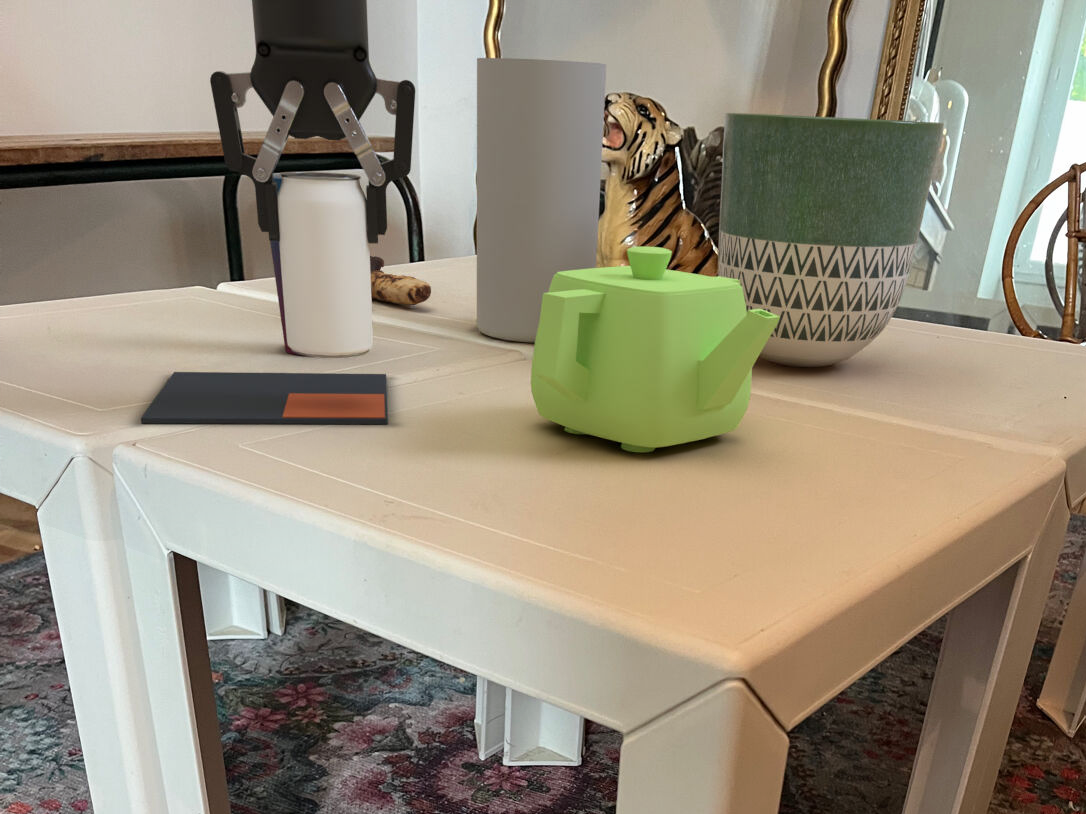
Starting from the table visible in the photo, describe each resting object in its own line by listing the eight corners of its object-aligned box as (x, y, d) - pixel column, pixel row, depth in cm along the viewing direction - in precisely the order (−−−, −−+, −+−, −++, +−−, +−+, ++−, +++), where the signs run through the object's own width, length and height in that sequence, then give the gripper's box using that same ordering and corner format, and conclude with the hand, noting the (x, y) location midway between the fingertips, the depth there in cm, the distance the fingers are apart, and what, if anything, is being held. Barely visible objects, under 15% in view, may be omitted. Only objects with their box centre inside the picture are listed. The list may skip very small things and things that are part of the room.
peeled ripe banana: (306, 297, 138) (378, 316, 126) (302, 256, 136) (375, 271, 124) (373, 290, 143) (449, 308, 131) (370, 250, 141) (446, 264, 128)
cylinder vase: (603, 328, 125) (618, 66, 112) (577, 348, 114) (590, 61, 102) (496, 319, 127) (498, 61, 115) (461, 338, 117) (459, 56, 104)
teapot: (834, 445, 85) (864, 259, 79) (656, 492, 73) (674, 276, 66) (655, 397, 96) (668, 231, 90) (475, 431, 84) (475, 242, 78)
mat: (141, 423, 83) (140, 416, 82) (174, 376, 96) (173, 370, 96) (387, 424, 85) (387, 417, 85) (386, 378, 99) (386, 372, 99)
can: (272, 354, 84) (257, 173, 78) (309, 339, 89) (298, 170, 83) (353, 361, 82) (345, 179, 76) (386, 346, 88) (380, 175, 82)
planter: (937, 382, 107) (989, 125, 96) (750, 386, 102) (783, 116, 91) (838, 342, 123) (873, 119, 112) (673, 345, 118) (693, 111, 107)
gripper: (416, -24, 78) (421, 238, 86) (201, -38, 76) (228, 233, 84) (419, -35, 71) (425, 250, 80) (185, -50, 69) (216, 244, 78)
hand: (324, 240), depth 82 cm, fingers closed on can, 6 cm apart
